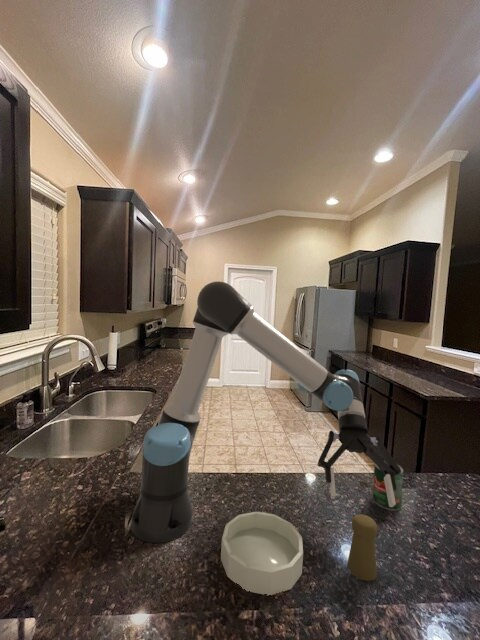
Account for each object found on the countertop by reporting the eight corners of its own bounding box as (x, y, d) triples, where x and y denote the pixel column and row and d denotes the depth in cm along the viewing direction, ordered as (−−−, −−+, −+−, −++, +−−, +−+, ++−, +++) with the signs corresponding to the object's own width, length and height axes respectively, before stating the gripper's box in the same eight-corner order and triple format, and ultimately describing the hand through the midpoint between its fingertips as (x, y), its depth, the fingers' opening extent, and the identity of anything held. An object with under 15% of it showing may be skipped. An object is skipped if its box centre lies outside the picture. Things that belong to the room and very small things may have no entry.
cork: (380, 583, 61) (383, 530, 62) (349, 577, 63) (352, 525, 63) (373, 561, 67) (376, 512, 67) (345, 555, 69) (348, 507, 69)
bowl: (213, 584, 59) (214, 562, 59) (230, 525, 76) (231, 507, 76) (303, 602, 56) (305, 578, 56) (299, 536, 74) (300, 518, 74)
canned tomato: (404, 503, 91) (406, 467, 91) (397, 514, 85) (399, 476, 85) (377, 491, 96) (379, 457, 96) (368, 501, 90) (370, 465, 90)
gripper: (393, 429, 87) (412, 512, 72) (306, 420, 91) (308, 498, 76) (401, 417, 82) (424, 504, 67) (309, 408, 85) (311, 489, 71)
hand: (362, 501), depth 71 cm, fingers open, 13 cm apart
